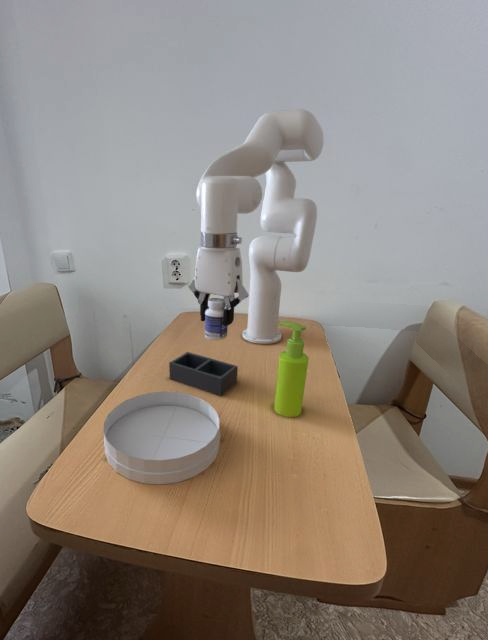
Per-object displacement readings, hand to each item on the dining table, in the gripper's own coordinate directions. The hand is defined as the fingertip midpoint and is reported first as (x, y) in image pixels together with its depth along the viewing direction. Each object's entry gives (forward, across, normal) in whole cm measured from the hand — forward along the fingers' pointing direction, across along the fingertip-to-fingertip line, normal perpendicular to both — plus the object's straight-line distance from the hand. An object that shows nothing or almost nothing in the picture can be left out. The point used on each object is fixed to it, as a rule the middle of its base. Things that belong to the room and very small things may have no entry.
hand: (216, 321), depth 86 cm
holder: (+17, +4, 0) cm, 17 cm away
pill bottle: (+4, 0, 0) cm, 4 cm away
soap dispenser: (+17, -19, 0) cm, 25 cm away
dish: (+17, -3, +25) cm, 30 cm away
